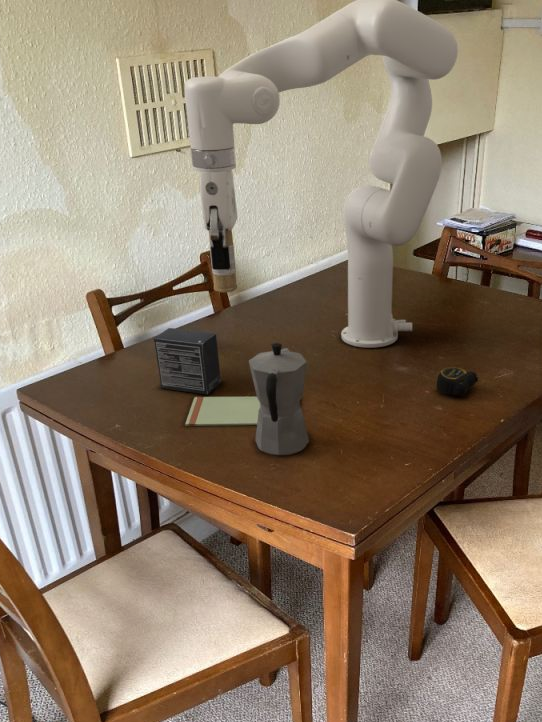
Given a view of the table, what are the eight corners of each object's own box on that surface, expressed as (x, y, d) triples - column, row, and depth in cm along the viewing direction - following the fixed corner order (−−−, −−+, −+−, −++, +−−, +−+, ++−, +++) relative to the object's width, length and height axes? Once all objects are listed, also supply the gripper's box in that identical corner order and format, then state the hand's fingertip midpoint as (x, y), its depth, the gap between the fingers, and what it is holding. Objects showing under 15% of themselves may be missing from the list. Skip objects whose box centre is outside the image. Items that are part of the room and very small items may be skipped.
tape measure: (462, 402, 144) (463, 383, 142) (429, 393, 147) (430, 375, 145) (477, 388, 149) (479, 370, 147) (445, 380, 152) (447, 363, 150)
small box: (223, 382, 153) (218, 331, 147) (208, 396, 148) (202, 344, 142) (176, 375, 156) (169, 325, 150) (159, 388, 151) (151, 337, 145)
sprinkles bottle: (229, 284, 149) (223, 211, 141) (242, 290, 146) (236, 216, 138) (209, 289, 146) (201, 215, 139) (221, 295, 143) (214, 220, 136)
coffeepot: (260, 424, 138) (253, 327, 128) (313, 425, 137) (310, 328, 127) (246, 468, 125) (237, 365, 115) (304, 470, 124) (300, 366, 114)
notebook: (299, 397, 147) (299, 395, 146) (296, 424, 137) (296, 422, 137) (194, 398, 147) (194, 396, 146) (185, 426, 138) (185, 423, 137)
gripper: (228, 168, 126) (238, 279, 136) (241, 150, 140) (248, 252, 150) (183, 168, 126) (195, 279, 136) (200, 150, 140) (210, 252, 150)
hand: (223, 263), depth 143 cm, fingers closed on sprinkles bottle, 4 cm apart
